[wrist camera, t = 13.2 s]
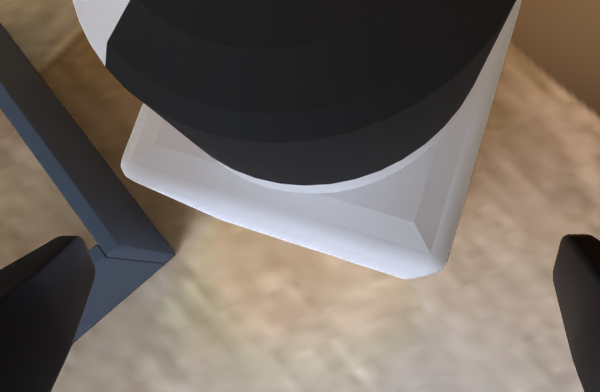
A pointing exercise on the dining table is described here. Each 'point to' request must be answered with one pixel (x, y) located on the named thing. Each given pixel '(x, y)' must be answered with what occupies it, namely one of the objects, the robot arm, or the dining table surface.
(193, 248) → the dining table surface
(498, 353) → the dining table surface
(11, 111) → the caddy
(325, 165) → the medicine bottle
